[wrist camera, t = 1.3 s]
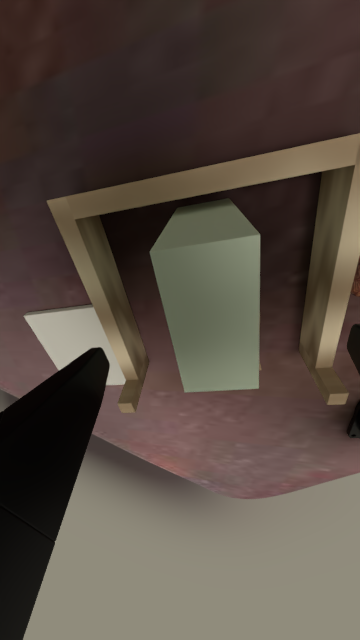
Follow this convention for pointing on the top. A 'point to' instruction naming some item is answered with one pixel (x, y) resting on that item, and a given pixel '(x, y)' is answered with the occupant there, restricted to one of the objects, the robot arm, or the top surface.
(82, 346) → the grey mat
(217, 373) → the sage green prism
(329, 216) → the rack
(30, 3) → the top surface
